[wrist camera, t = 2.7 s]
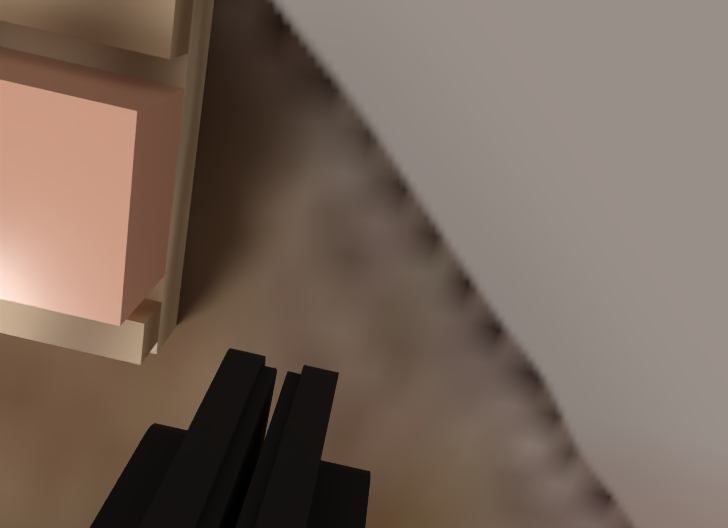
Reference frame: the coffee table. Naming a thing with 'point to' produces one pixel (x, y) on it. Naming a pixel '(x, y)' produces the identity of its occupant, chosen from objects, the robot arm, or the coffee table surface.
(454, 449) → the coffee table surface
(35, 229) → the tile
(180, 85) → the wooden tray
